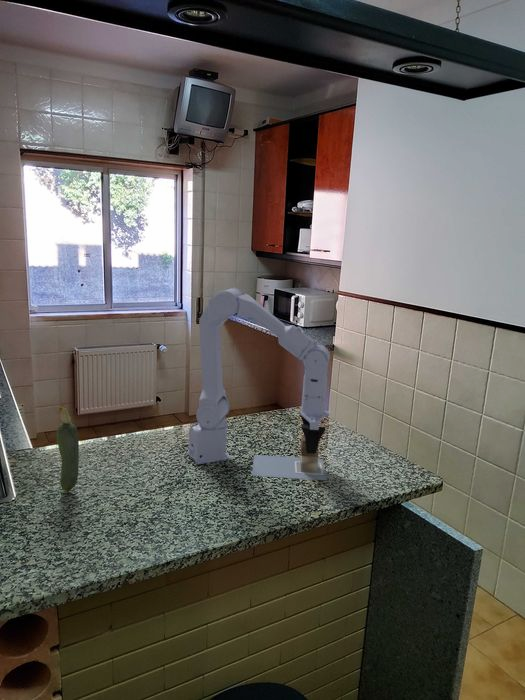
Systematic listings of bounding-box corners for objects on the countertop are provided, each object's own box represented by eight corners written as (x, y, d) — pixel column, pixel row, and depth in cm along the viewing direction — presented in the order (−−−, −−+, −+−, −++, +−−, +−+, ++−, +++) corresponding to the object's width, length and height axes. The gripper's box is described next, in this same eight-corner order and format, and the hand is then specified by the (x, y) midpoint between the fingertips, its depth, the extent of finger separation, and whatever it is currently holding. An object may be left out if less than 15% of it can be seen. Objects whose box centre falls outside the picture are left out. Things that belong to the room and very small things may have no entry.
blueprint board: (251, 477, 121) (251, 475, 121) (254, 456, 133) (254, 454, 133) (326, 482, 121) (326, 479, 121) (322, 461, 133) (322, 458, 133)
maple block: (300, 471, 125) (302, 456, 124) (300, 464, 129) (301, 449, 128) (317, 472, 125) (318, 457, 124) (315, 465, 129) (317, 450, 128)
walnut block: (301, 456, 124) (302, 440, 123) (300, 449, 128) (301, 434, 127) (317, 457, 124) (318, 441, 123) (316, 450, 128) (317, 435, 127)
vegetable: (81, 488, 112) (79, 402, 108) (78, 497, 108) (75, 409, 104) (60, 488, 112) (57, 402, 107) (56, 498, 107) (53, 409, 103)
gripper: (333, 405, 116) (328, 460, 118) (327, 386, 130) (323, 436, 133) (303, 403, 116) (298, 458, 119) (300, 385, 130) (296, 434, 133)
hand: (310, 446), depth 126 cm, fingers open, 7 cm apart
